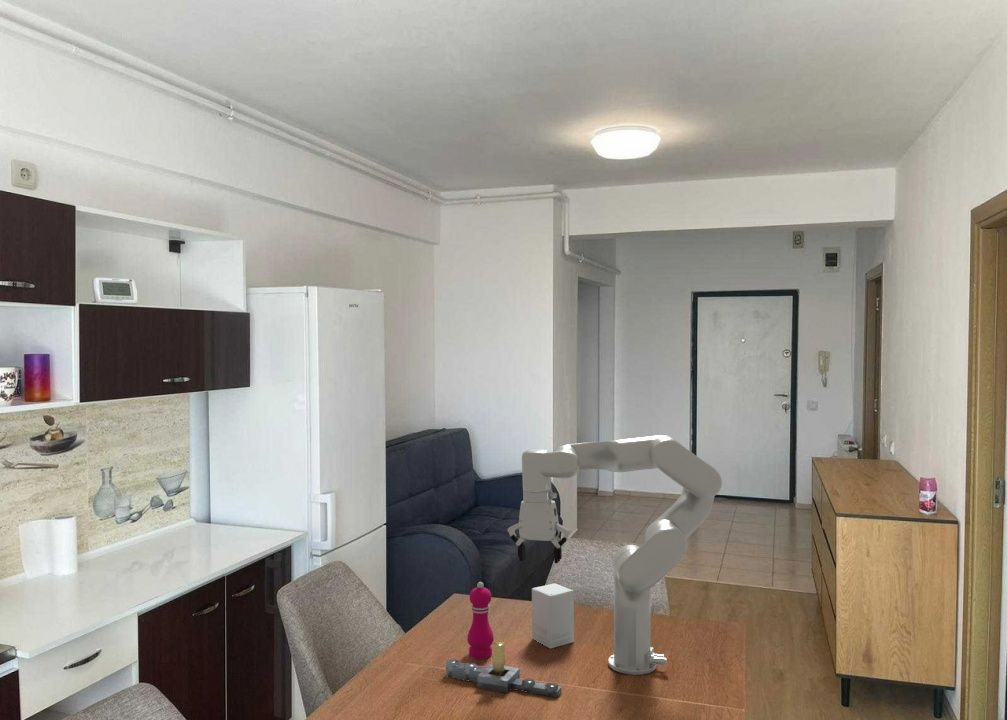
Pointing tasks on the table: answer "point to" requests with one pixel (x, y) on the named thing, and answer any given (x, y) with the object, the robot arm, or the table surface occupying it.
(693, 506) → the robot arm
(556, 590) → the supplement box
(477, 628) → the pepper mill
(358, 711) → the table surface
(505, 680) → the chain ends
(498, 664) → the brass pin
